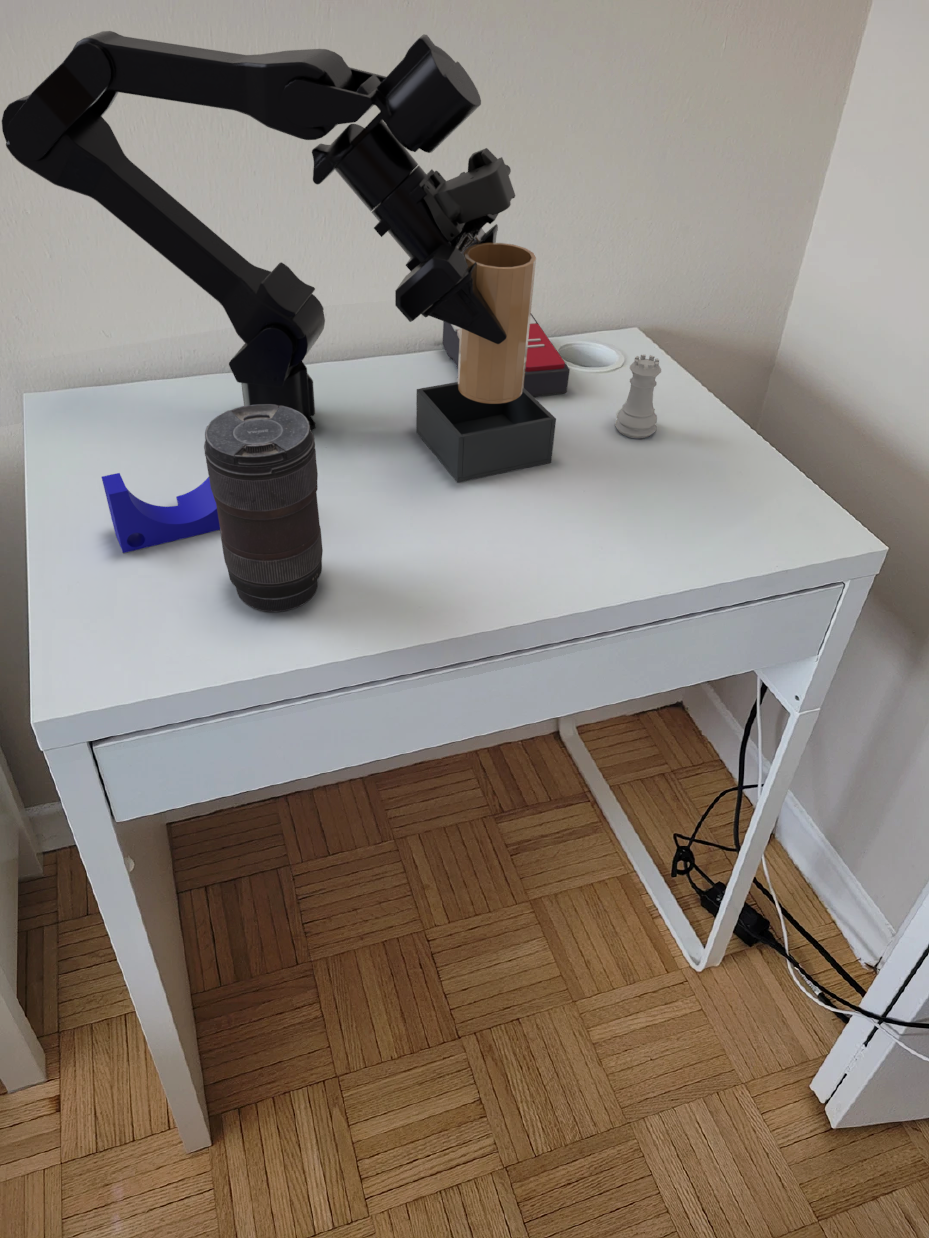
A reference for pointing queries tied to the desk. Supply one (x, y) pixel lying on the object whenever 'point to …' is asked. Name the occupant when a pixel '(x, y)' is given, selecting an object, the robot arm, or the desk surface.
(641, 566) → the desk surface
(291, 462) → the camera lens
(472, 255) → the wooden cup
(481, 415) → the bin
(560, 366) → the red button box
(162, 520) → the blue semicircular cradle bracket
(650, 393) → the rook chess piece
